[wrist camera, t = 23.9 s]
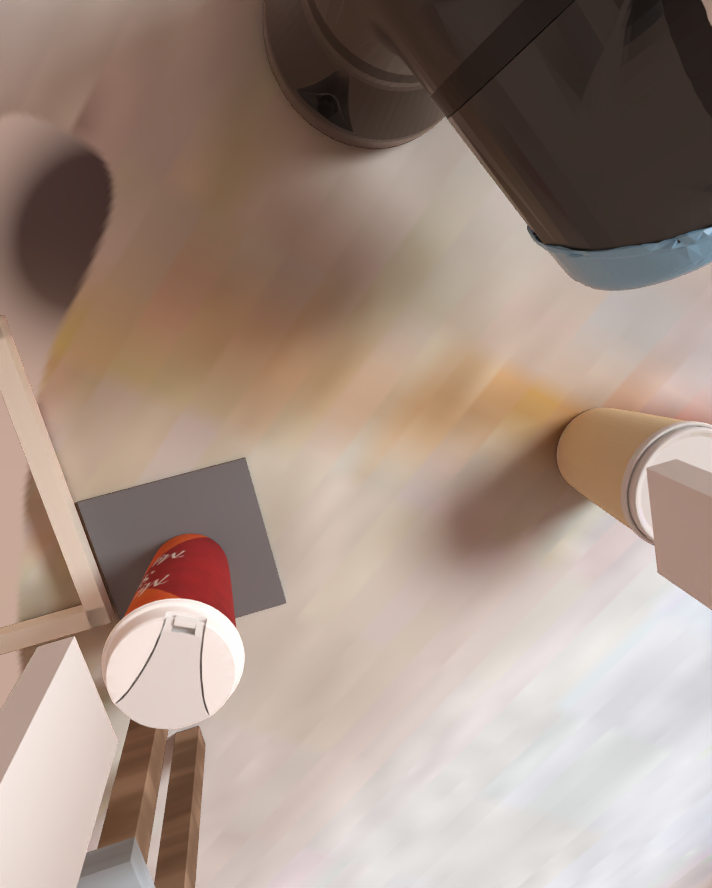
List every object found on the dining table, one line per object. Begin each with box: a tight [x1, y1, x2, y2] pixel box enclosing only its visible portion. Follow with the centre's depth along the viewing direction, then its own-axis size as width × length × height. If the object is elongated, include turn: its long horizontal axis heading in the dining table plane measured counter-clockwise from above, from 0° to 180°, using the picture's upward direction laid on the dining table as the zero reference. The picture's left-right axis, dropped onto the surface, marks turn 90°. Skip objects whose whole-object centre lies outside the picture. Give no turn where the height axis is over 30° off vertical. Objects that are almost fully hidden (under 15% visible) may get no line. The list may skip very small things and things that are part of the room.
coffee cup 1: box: [101, 534, 244, 729], centre depth 43 cm, size 8×8×15 cm
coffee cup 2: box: [557, 408, 712, 546], centre depth 49 cm, size 9×9×12 cm
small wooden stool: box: [77, 720, 205, 888], centre depth 42 cm, size 10×19×20 cm, turn 103°
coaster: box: [78, 458, 286, 620], centre depth 50 cm, size 13×13×1 cm
